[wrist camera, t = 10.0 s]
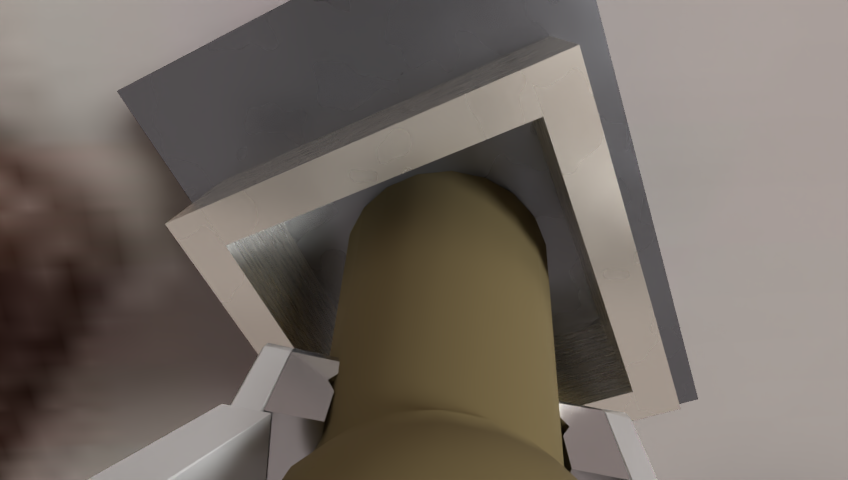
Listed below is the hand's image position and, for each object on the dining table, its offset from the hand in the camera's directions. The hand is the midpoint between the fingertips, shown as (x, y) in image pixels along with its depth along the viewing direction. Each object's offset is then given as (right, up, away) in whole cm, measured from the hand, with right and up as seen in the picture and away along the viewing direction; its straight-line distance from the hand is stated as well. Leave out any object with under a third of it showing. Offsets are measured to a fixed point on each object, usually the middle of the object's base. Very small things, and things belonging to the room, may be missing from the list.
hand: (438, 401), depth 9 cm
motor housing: (+1, +5, +9) cm, 11 cm away
